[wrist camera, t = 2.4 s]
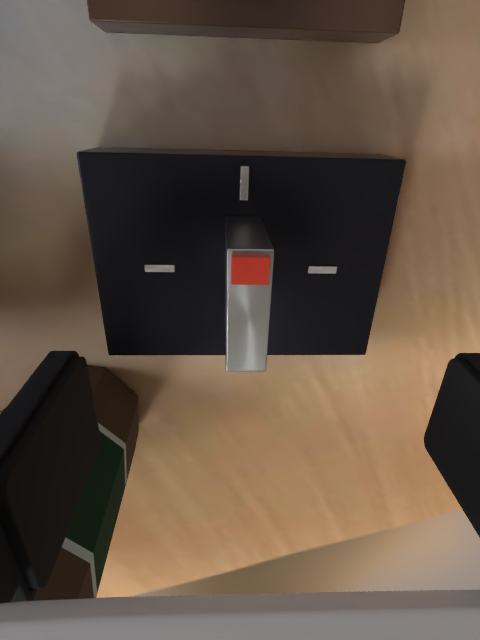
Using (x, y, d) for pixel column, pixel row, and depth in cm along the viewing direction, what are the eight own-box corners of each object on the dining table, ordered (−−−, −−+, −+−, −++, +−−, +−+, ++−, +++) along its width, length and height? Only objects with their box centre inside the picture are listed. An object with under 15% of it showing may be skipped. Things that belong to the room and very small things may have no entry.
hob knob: (256, 314, 20) (266, 375, 15) (224, 314, 19) (225, 375, 15) (261, 216, 17) (275, 251, 13) (225, 215, 17) (226, 251, 13)
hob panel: (121, 328, 23) (107, 357, 20) (96, 147, 18) (74, 151, 16) (349, 329, 24) (367, 357, 21) (381, 154, 19) (408, 159, 16)
